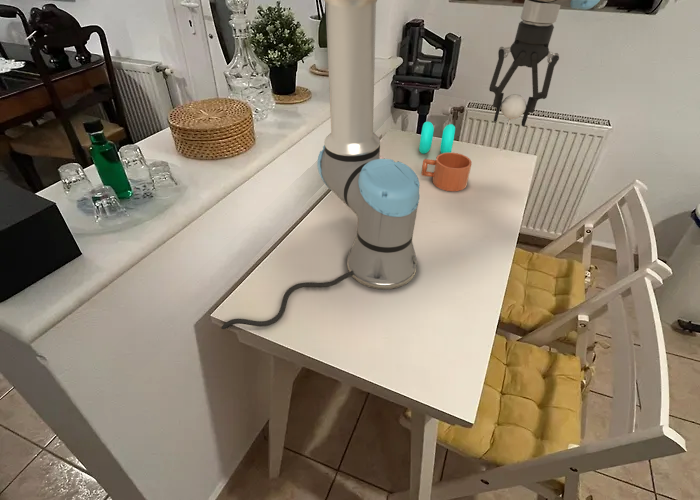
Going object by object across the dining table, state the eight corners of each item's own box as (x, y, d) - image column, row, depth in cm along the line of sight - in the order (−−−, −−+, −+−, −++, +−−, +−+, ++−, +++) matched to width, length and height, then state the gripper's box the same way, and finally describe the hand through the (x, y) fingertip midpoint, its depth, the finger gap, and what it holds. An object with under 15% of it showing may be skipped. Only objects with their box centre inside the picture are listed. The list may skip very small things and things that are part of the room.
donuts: (449, 163, 133) (455, 132, 127) (417, 158, 135) (421, 128, 129) (451, 148, 141) (456, 119, 134) (420, 145, 142) (424, 115, 136)
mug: (467, 176, 127) (471, 155, 123) (466, 193, 120) (471, 171, 115) (422, 170, 129) (425, 149, 125) (418, 186, 122) (421, 164, 117)
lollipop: (510, 146, 118) (526, 91, 108) (514, 156, 113) (532, 100, 103) (487, 145, 118) (501, 90, 108) (491, 154, 113) (506, 98, 104)
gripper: (581, 23, 96) (547, 122, 111) (494, 14, 101) (472, 111, 115) (584, 30, 91) (548, 133, 105) (492, 21, 95) (469, 121, 110)
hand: (509, 121), depth 110 cm, fingers closed on lollipop, 6 cm apart
